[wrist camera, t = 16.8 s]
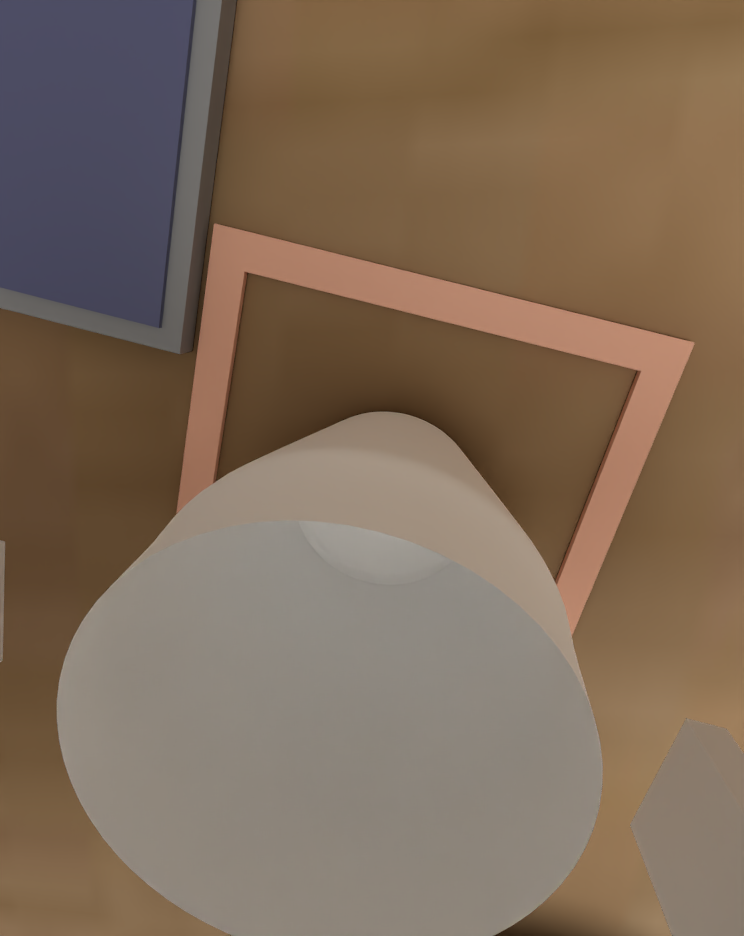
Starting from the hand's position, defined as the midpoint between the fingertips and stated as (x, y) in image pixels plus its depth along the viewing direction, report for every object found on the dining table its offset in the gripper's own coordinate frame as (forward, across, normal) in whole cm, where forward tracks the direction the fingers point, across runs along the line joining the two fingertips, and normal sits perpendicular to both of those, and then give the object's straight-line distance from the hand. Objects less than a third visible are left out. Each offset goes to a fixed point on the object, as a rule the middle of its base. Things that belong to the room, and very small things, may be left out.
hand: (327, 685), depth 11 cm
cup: (+10, 0, 0) cm, 10 cm away
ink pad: (+10, -13, +9) cm, 19 cm away
